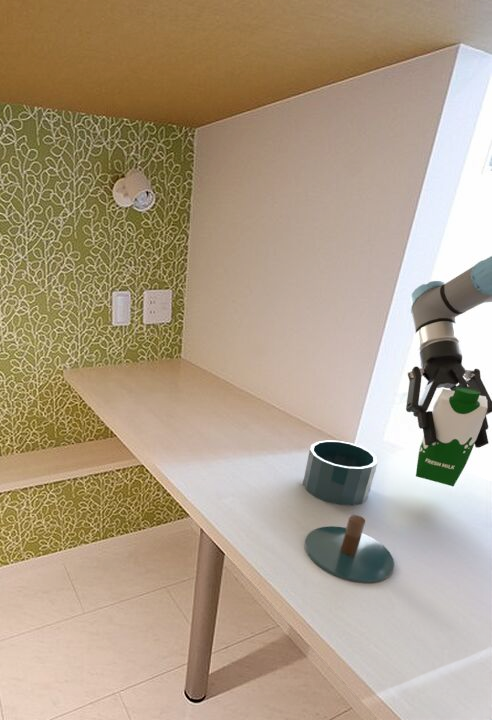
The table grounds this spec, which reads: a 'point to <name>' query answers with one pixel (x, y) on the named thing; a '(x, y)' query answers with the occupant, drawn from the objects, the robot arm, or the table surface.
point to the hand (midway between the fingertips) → (456, 444)
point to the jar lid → (349, 552)
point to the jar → (339, 472)
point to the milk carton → (452, 435)
